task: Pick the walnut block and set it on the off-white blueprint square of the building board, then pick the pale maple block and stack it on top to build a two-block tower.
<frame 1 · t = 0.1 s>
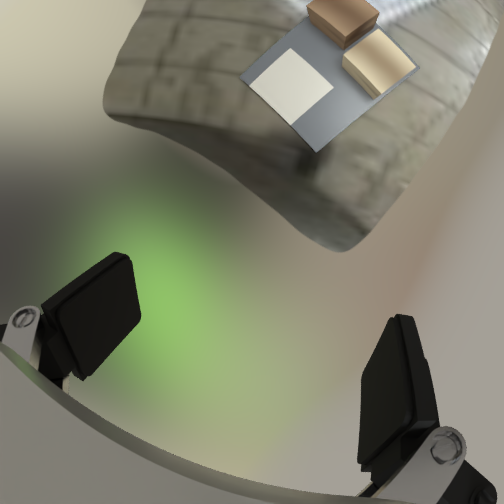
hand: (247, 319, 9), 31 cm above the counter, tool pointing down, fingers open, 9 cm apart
walnut block: (342, 24, 25), point 1 cm above the counter, touching build board
build board: (330, 66, 29), on the counter
maple block: (373, 70, 27), point 1 cm above the counter, touching build board
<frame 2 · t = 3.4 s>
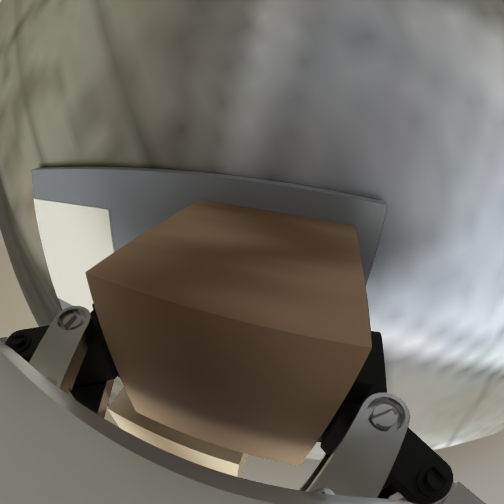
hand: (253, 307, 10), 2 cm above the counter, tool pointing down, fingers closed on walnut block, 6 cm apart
walnut block: (265, 281, 11), point 1 cm above the counter, touching build board, gripper
build board: (157, 304, 15), on the counter
maple block: (219, 378, 15), point 1 cm above the counter, touching build board
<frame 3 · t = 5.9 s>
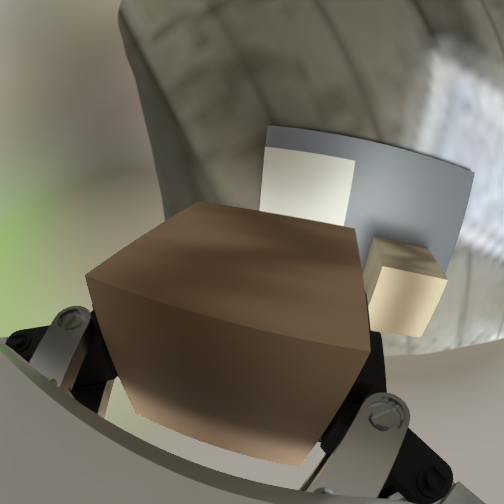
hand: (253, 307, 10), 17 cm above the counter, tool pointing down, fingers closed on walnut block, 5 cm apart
walnut block: (265, 283, 11), point 16 cm above the counter, touching gripper
build board: (364, 222, 24), on the counter
maple block: (393, 270, 25), point 1 cm above the counter, touching build board
when the fingers open (4 cm above the counter, at t = 8.8 s): walnut block drops 1 cm, resting on build board.
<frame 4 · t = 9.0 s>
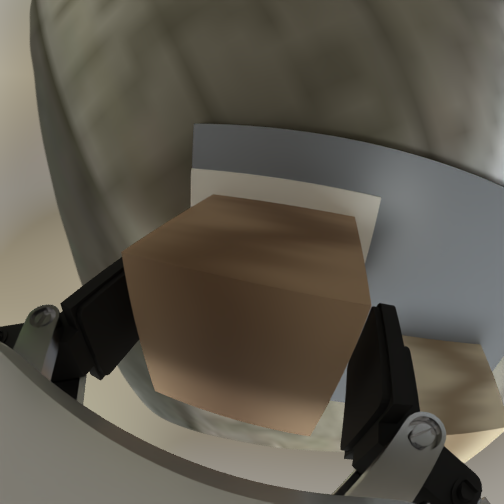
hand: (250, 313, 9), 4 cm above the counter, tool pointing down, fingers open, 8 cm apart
walnut block: (274, 268, 12), point 1 cm above the counter, touching build board
build board: (386, 309, 12), on the counter
maple block: (420, 376, 13), point 1 cm above the counter, touching build board
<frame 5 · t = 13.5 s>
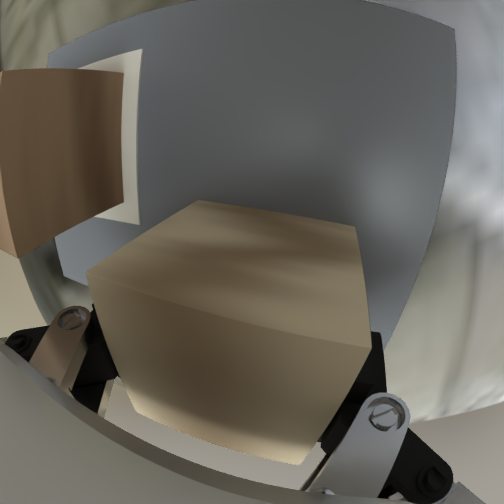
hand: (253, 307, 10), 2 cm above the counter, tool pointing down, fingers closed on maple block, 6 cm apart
walnut block: (80, 141, 11), point 1 cm above the counter, touching build board
build board: (183, 170, 11), on the counter
maple block: (265, 281, 11), point 1 cm above the counter, touching build board, gripper
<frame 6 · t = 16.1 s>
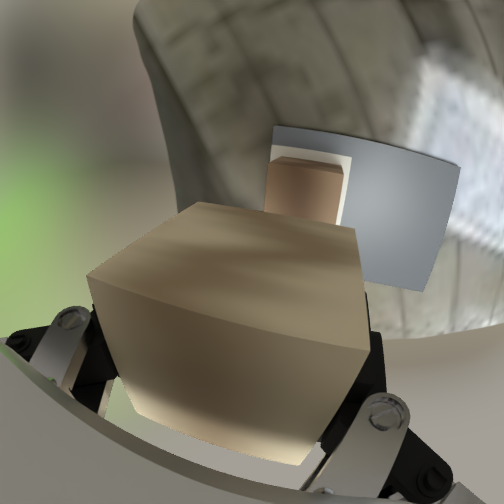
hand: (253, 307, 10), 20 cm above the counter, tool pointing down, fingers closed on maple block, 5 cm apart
walnut block: (307, 189, 27), point 1 cm above the counter, touching build board
build board: (361, 212, 27), on the counter
maple block: (265, 282, 11), point 19 cm above the counter, touching gripper
when the fingers open (10 cm above the counter, at t = 18.9 s): maple block drops 1 cm, resting on walnut block.
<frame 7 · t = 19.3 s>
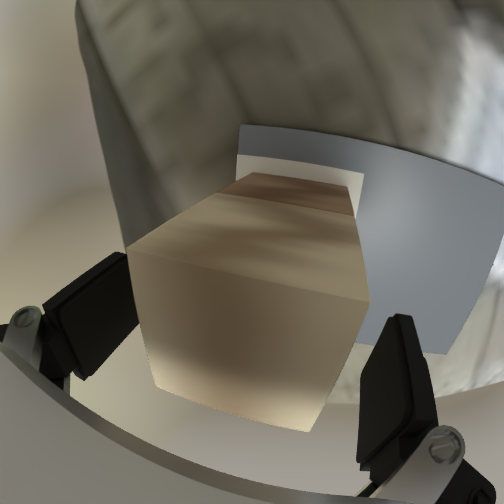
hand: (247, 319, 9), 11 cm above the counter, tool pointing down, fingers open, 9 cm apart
walnut block: (293, 223, 18), point 1 cm above the counter, touching build board, maple block
build board: (373, 256, 18), on the counter
maple block: (274, 266, 13), point 7 cm above the counter, touching walnut block
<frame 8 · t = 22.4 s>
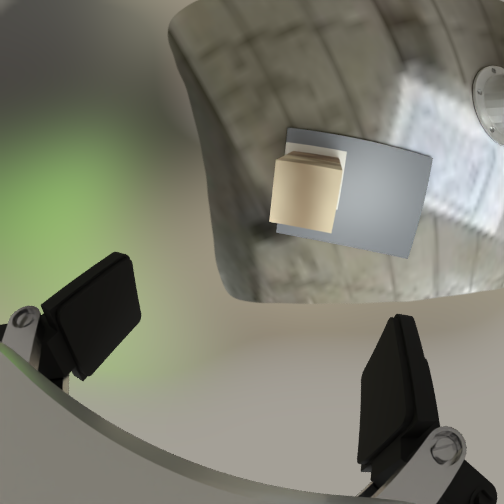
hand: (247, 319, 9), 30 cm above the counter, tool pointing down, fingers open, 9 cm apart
build board: (354, 193, 35), on the counter
maple block: (309, 184, 30), point 7 cm above the counter, touching walnut block
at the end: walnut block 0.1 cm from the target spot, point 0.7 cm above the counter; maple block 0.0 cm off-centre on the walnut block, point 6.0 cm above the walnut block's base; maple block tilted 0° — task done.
